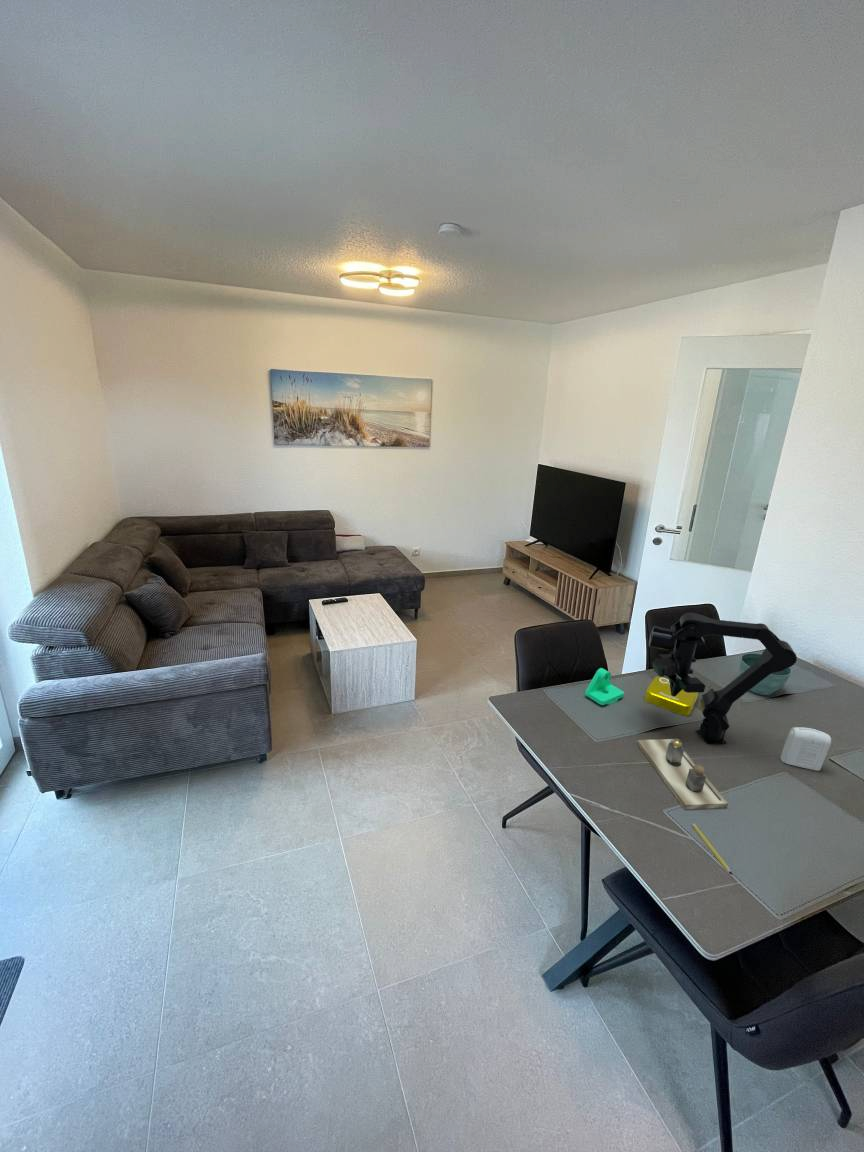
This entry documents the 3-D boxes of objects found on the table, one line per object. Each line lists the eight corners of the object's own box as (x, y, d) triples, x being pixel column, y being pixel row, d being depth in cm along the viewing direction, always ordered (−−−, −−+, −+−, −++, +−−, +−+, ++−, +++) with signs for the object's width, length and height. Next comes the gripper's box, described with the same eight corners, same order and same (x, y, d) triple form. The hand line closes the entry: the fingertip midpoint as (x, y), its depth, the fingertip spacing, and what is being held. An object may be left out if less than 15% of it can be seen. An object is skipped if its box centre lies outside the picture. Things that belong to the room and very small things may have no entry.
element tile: (642, 701, 178) (645, 690, 177) (654, 684, 190) (656, 673, 188) (688, 718, 170) (691, 706, 168) (697, 699, 181) (700, 688, 180)
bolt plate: (673, 742, 157) (678, 721, 154) (726, 807, 132) (734, 783, 129) (636, 744, 155) (641, 722, 152) (684, 809, 131) (691, 785, 128)
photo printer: (816, 763, 150) (829, 729, 146) (822, 773, 147) (836, 738, 142) (777, 755, 153) (789, 721, 149) (782, 764, 149) (794, 730, 145)
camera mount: (601, 708, 173) (606, 682, 169) (584, 697, 179) (588, 672, 175) (624, 698, 179) (629, 674, 175) (606, 688, 185) (611, 664, 181)
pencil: (729, 876, 113) (730, 873, 113) (691, 826, 126) (692, 823, 126) (733, 876, 113) (734, 873, 113) (694, 826, 126) (695, 823, 126)
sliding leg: (674, 756, 148) (679, 737, 146) (680, 763, 145) (685, 744, 143) (665, 756, 148) (670, 738, 145) (670, 763, 145) (675, 744, 143)
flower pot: (793, 702, 181) (802, 676, 178) (749, 700, 181) (757, 674, 178) (766, 678, 197) (773, 654, 193) (725, 676, 197) (732, 652, 193)
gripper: (644, 638, 163) (635, 680, 168) (676, 668, 145) (664, 713, 151) (676, 638, 164) (666, 679, 169) (711, 668, 146) (699, 713, 152)
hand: (673, 695), depth 160 cm, fingers closed
